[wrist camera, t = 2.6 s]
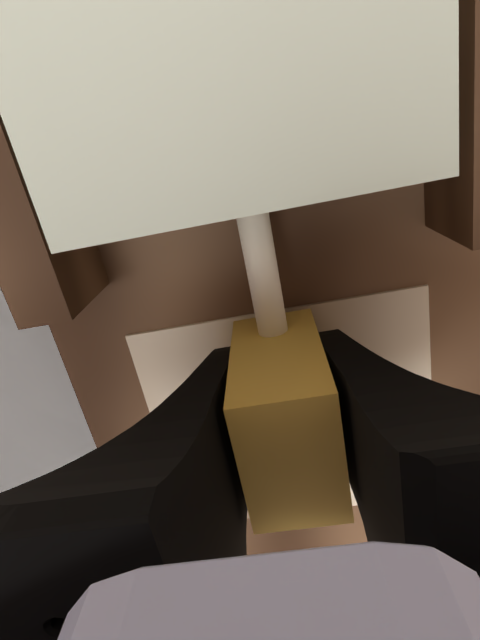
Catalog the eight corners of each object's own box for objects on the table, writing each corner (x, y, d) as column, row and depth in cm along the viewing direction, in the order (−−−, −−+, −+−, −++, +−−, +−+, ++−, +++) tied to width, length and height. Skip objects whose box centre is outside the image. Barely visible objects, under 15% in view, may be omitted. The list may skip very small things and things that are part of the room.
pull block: (186, 426, 13) (158, 545, 9) (49, -46, 8) (-111, -189, 5) (397, 396, 12) (460, 510, 8) (362, -130, 8) (457, -367, 4)
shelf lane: (173, 588, 18) (148, 724, 14) (-60, -53, 10) (-287, -189, 6) (475, 556, 17) (548, 695, 13) (487, -204, 9) (700, -513, 5)
